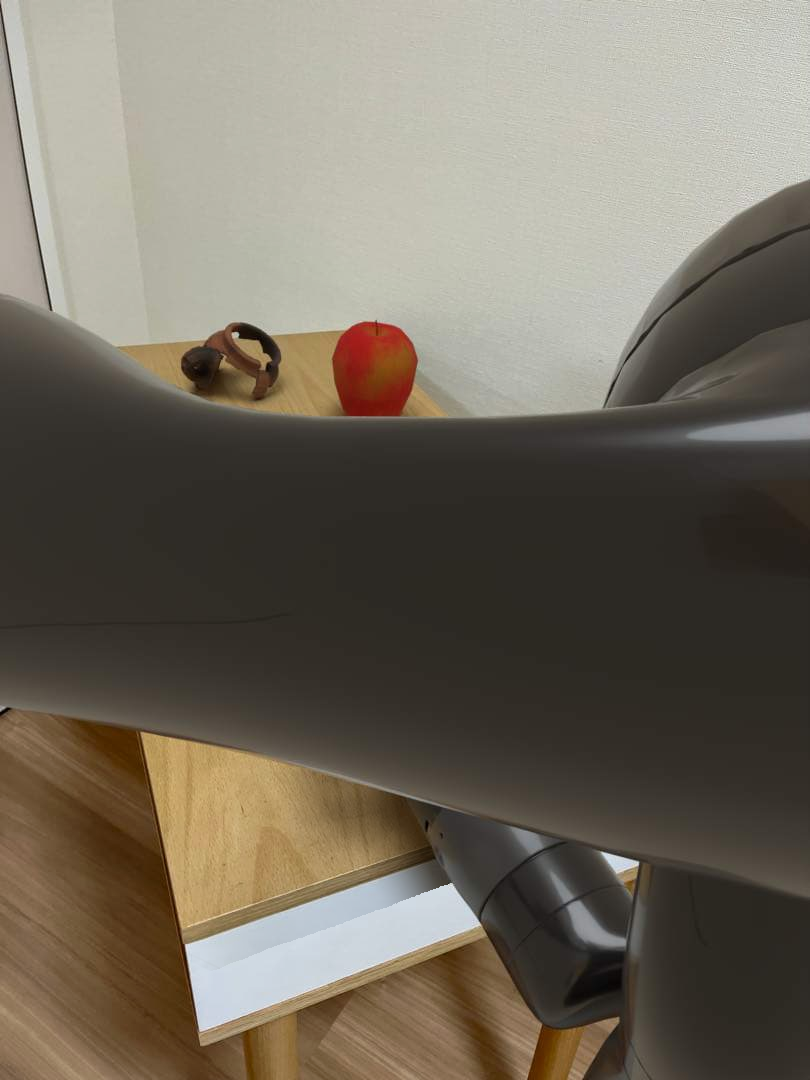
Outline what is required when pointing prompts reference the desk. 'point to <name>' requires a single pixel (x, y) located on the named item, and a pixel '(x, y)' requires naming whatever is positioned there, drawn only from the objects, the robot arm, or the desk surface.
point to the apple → (374, 369)
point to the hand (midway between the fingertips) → (369, 620)
